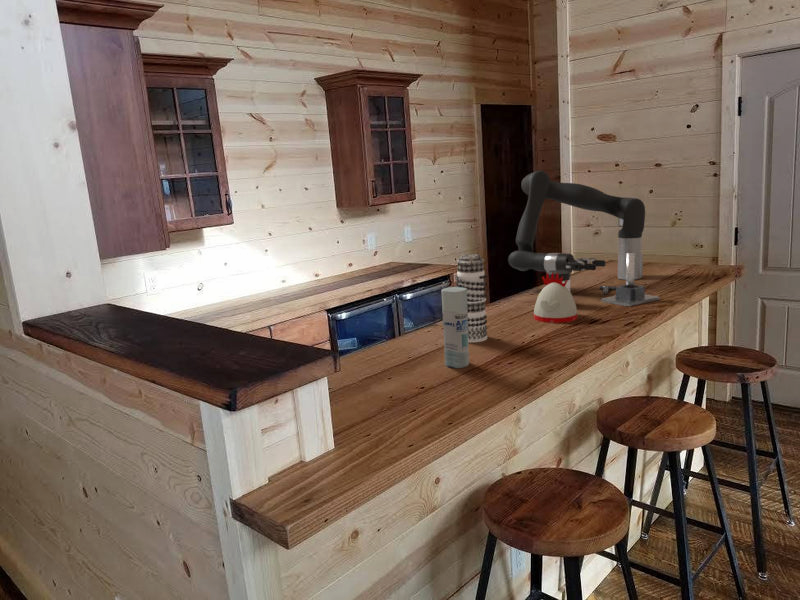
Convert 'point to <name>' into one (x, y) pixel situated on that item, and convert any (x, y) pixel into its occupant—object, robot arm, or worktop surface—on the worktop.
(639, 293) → the chuck block
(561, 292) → the kitchen timer
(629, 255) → the steel rod
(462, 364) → the spray paint can
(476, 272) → the decorative candle
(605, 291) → the chuck key
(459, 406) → the worktop surface
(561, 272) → the jar
